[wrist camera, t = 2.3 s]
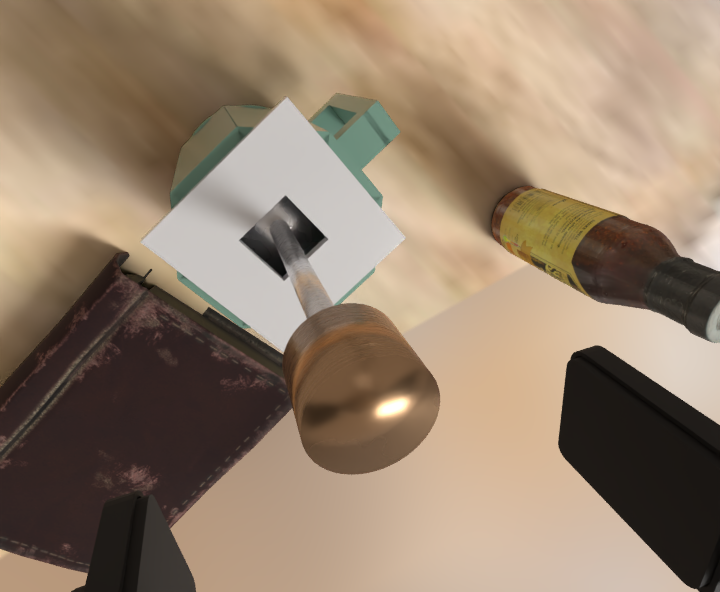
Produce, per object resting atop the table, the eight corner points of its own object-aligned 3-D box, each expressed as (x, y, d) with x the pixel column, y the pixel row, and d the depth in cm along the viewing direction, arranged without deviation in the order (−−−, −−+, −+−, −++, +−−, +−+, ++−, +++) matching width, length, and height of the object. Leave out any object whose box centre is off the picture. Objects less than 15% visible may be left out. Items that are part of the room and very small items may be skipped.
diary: (-74, 469, 37) (-112, 521, 33) (121, 243, 34) (108, 268, 30) (135, 538, 46) (127, 587, 42) (303, 366, 43) (314, 398, 39)
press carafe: (150, 174, 32) (118, 242, 19) (283, 40, 31) (339, 22, 18) (255, 265, 37) (282, 365, 25) (372, 153, 36) (462, 199, 24)
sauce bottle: (479, 246, 43) (663, 363, 26) (499, 179, 40) (717, 259, 23) (535, 251, 45) (739, 361, 28) (557, 187, 43) (795, 267, 26)
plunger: (171, 226, 22) (129, 453, 9) (278, 120, 21) (400, 200, 8) (276, 313, 26) (355, 563, 13) (370, 225, 25) (553, 392, 12)
